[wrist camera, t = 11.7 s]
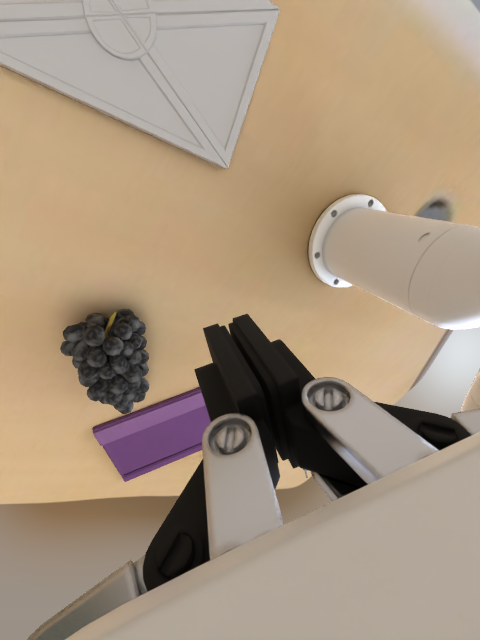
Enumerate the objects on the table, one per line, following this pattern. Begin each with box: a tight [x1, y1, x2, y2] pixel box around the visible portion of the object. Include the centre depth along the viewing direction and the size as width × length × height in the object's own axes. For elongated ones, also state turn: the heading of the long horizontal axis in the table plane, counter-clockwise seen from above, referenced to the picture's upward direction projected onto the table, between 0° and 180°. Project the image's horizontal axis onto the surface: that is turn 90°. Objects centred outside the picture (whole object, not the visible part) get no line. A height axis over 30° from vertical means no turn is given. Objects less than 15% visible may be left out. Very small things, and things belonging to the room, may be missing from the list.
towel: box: [93, 388, 211, 482], centre depth 46 cm, size 20×12×1 cm, turn 102°
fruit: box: [60, 309, 149, 414], centre depth 35 cm, size 9×8×15 cm
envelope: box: [0, 0, 280, 169], centre depth 25 cm, size 24×2×14 cm
